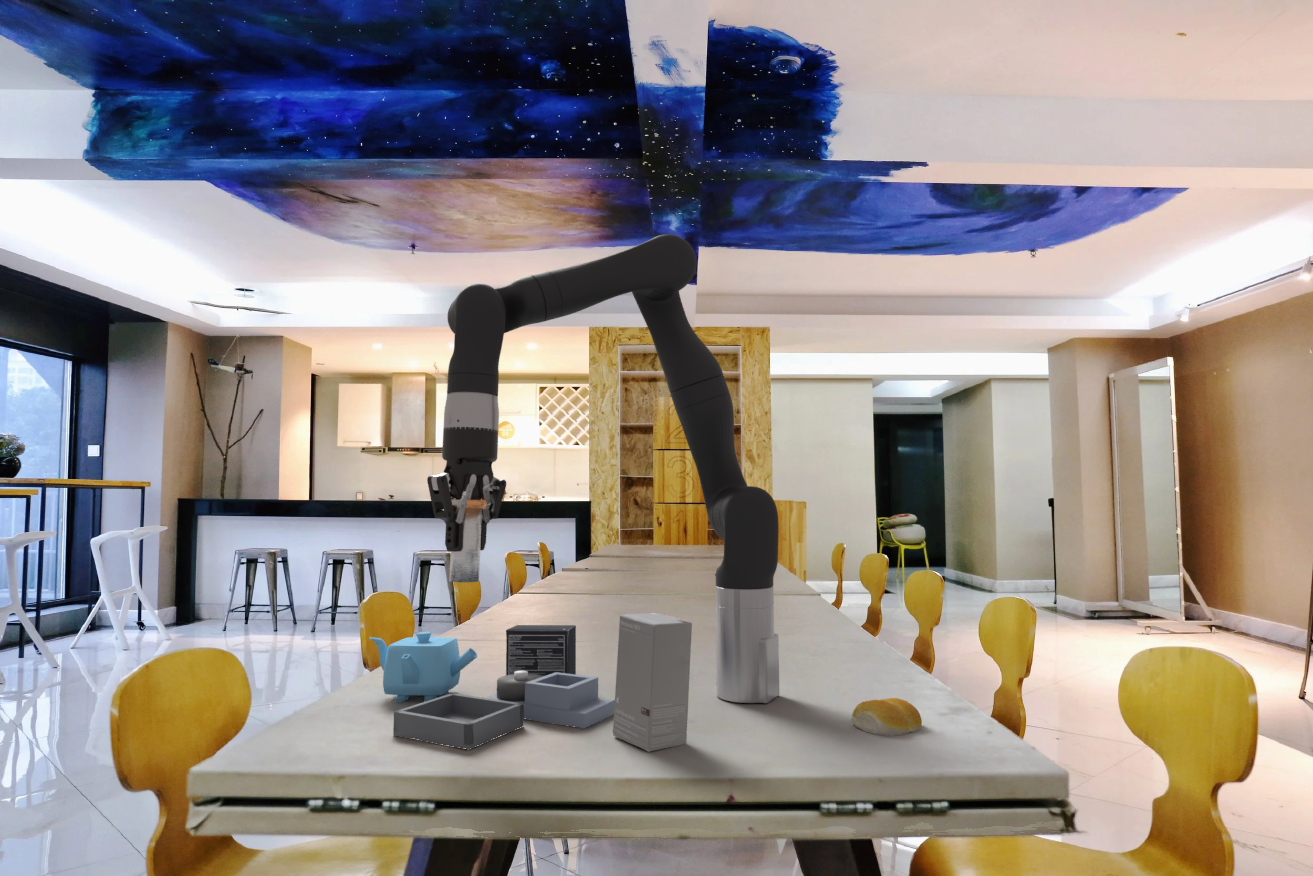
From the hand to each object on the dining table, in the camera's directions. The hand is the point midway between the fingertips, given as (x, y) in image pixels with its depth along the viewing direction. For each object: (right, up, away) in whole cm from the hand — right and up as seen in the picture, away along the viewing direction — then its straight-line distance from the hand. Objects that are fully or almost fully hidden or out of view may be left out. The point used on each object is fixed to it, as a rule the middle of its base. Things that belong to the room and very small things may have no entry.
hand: (465, 550), depth 103 cm
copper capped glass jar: (0, -4, 0) cm, 4 cm away
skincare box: (+26, -24, -7) cm, 36 cm away
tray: (0, -24, -3) cm, 24 cm away
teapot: (-11, -26, +15) cm, 32 cm away
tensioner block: (+11, -25, +6) cm, 28 cm away
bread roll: (+58, -24, -1) cm, 63 cm away
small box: (+8, -26, +19) cm, 33 cm away
